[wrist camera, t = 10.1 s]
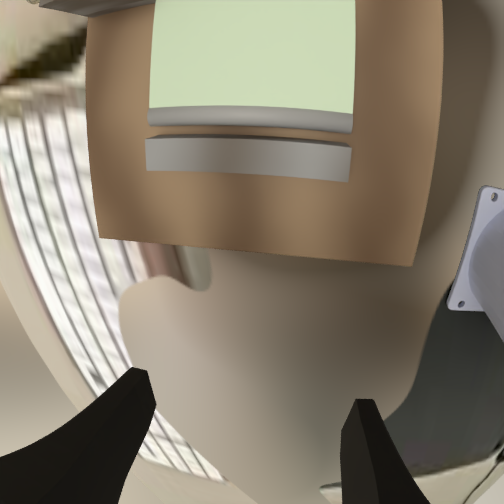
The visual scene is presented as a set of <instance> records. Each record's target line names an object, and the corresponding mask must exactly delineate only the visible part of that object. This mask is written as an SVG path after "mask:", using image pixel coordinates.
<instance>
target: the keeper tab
mask: <svg viewBox="0 0 504 504" xmlns="http://www.w3.org/2000/svg"><path fill="white" fill-rule="evenodd" d="M354 79H355V0H156V2H155V12H154V23H153V35H152V50H151V68H150V94H149V109H148V113H147V120H148V124H149V125H150V126H151V127H154V126H186V125H227V126H259V127H278V128H293V129H305V130H316V131H327V132H336V133H344V134H351V132H352V127H353V101H354Z"/></svg>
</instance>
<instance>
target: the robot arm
mask: <svg viewBox="0 0 504 504" xmlns="http://www.w3.org/2000/svg"><path fill="white" fill-rule="evenodd" d="M493 193H495V196H494V198H493V199H491V195H492V194H493ZM460 301H462V303H460V304H459V302H460ZM447 306H448V308H449V309H450V310H462V311H485V313H486V314H487V316H488V317H489V319H490V321H491V322H492V324H493V325H494V327H495V329H496V330H497V332H498V334H499V335H500V337H501V339H502V340H503V342H504V189H500V188H496V187H492V186H487V185H485V186H482V187H481V188H480V190H479V192H478V197H477V202H476V206H475V210H474V214H473V218H472V222H471V226H470V230H469V234H468V237H467V241H466V244H465V248H464V251H463V255H462V258H461V261H460V264H459V268H458V270H457V274H456V277H455V279H454V282H453V285H452V288H451V291H450V294H449V296H448V299H447ZM155 408H156V401H155V398H154V394H153V391H152V387H151V383H150V380H149V376H148V373H147V371H146V370H142V369H138V368H134V367H131V368H130V369H129V370H128V371H127V372H125V373H124V374H123V375H122V376H121V377H120V378H119V379H118V380H117V381H116V382H115V383H114V384H113V385H111V386H110V387H109V388H108V389H107V390H106V391H105V392H104V393H103V394H102V395H100V396H99V397H98V398H97V399H96V400H95V401H93V402H92V403H91V404H90V405H89V406H88V407H86V408H85V409H84V410H83V411H81V412H80V413H79V414H77V415H76V416H75V417H74V418H72V419H71V420H70V421H68V422H67V423H66V424H64V425H63V426H62V427H60V428H58V429H57V430H55V431H54V432H52V433H50V434H49V435H47V436H45V437H43V438H42V439H40V440H38V441H36V442H35V443H32V444H31V445H28V446H26V447H24V448H22V449H20V450H17V451H15V452H12V453H10V454H7V455H5V456H2V457H0V504H118V502H119V498H120V495H121V492H122V488H123V485H124V482H125V479H126V477H127V475H128V472H129V470H130V468H131V466H132V464H133V462H134V459H135V457H136V455H137V453H138V451H139V449H140V447H141V445H142V442H143V440H144V438H145V436H146V434H147V432H148V429H149V427H150V424H151V421H152V418H153V414H154V411H155ZM340 464H341V482H342V504H430V502H429V501H428V500H427V498H426V497H425V496H424V494H423V493H422V491H421V490H420V489H419V487H418V486H417V484H416V482H415V481H414V479H413V478H412V476H411V474H410V473H409V471H408V469H407V468H406V466H405V464H404V462H403V461H402V459H401V457H400V455H399V453H398V451H397V449H396V447H395V445H394V443H393V441H392V439H391V437H390V435H389V433H388V431H387V429H386V427H385V424H384V422H383V420H382V418H381V415H380V413H379V411H378V408H377V406H376V404H375V401H374V400H373V399H355V402H354V404H353V406H352V409H351V411H350V413H349V415H348V418H347V420H346V422H345V424H344V426H343V428H342V430H341V449H340Z"/></svg>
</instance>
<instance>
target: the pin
mask: <svg viewBox="0 0 504 504" xmlns="http://www.w3.org/2000/svg"><path fill="white" fill-rule="evenodd" d="M27 1H28V2H29V3H31V4H38V3H39V2H40V0H27Z"/></svg>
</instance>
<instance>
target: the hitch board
mask: <svg viewBox="0 0 504 504" xmlns="http://www.w3.org/2000/svg"><path fill="white" fill-rule="evenodd" d="M155 2H156V0H40V2H39V7H42V8H48V9H54V10H59V11H64V12H69V13H73V14H78V15H82V16H86V17H88V25H87V42H86V119H87V137H88V151H89V163H90V173H91V182H92V190H93V198H94V206H95V213H96V220H97V226H98V232H99V238H106V239H116V240H127V241H138V242H149V243H160V244H171V245H181V246H192V247H203V248H214V249H226V250H235V251H246V252H257V253H268V254H279V255H291V256H300V257H312V258H322V259H333V260H344V261H355V262H366V263H376V264H388V265H398V266H409V267H412V265H413V261H414V257H415V254H416V250H417V246H418V242H419V237H420V233H421V229H422V224H423V220H424V215H425V210H426V206H427V200H428V195H429V190H430V184H431V178H432V172H433V166H434V159H435V153H436V145H437V137H438V128H439V118H440V108H441V95H442V76H443V13H442V0H355V79H354V101H353V127H352V132H351V134H344V133H336V132H327V131H316V130H305V129H293V128H278V127H259V126H227V125H186V126H154V127H151V126H150V125H149V124H148V120H147V113H148V109H149V94H150V68H151V50H152V35H153V23H154V12H155Z"/></svg>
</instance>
